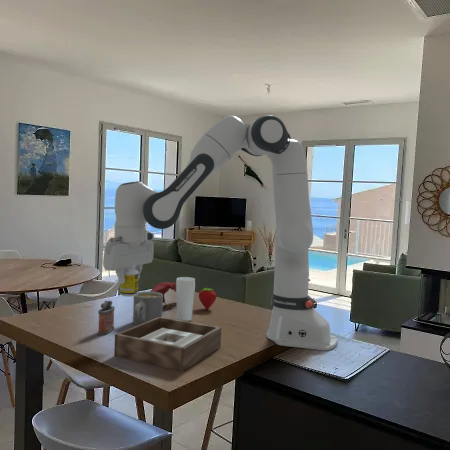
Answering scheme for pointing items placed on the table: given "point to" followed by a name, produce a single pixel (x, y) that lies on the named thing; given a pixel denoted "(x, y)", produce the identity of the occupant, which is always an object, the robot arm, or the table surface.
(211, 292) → the strawberry
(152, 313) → the coffee mug
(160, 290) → the decorative bird sculpture
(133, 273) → the supplement bottle
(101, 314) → the lighter
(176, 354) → the crate
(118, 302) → the table surface
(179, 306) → the drinking glass
